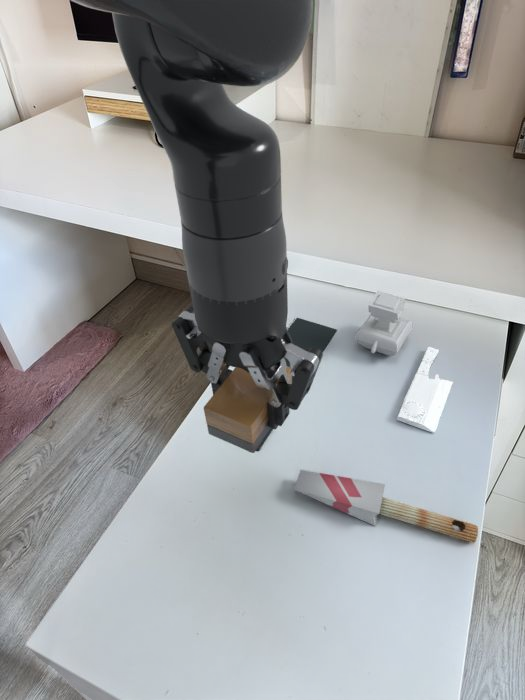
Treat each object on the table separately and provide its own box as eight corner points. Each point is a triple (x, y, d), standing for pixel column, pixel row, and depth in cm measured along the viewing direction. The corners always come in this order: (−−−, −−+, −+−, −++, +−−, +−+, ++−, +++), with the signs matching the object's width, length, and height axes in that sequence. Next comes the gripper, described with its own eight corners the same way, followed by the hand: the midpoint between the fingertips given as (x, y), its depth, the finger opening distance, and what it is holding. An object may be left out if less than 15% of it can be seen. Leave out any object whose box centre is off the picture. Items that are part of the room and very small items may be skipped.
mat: (258, 451, 64) (258, 449, 64) (212, 432, 67) (211, 429, 66) (336, 331, 80) (336, 328, 80) (297, 319, 83) (297, 316, 83)
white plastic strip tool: (461, 360, 74) (463, 355, 73) (433, 434, 65) (435, 429, 64) (426, 350, 76) (428, 344, 75) (395, 419, 67) (396, 414, 66)
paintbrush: (302, 458, 59) (480, 513, 54) (301, 471, 61) (473, 525, 56) (292, 485, 57) (478, 545, 52) (291, 498, 59) (471, 557, 53)
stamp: (392, 370, 74) (400, 326, 68) (350, 355, 76) (354, 311, 71) (412, 334, 79) (421, 290, 73) (372, 321, 82) (378, 278, 76)
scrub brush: (253, 454, 46) (250, 427, 44) (208, 434, 48) (203, 407, 46) (292, 395, 51) (292, 367, 49) (249, 379, 53) (247, 351, 50)
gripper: (130, 270, 38) (170, 413, 50) (301, 324, 33) (300, 469, 45) (187, 224, 43) (211, 364, 55) (345, 264, 37) (334, 410, 49)
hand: (251, 411), depth 50 cm, fingers closed on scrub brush, 5 cm apart
